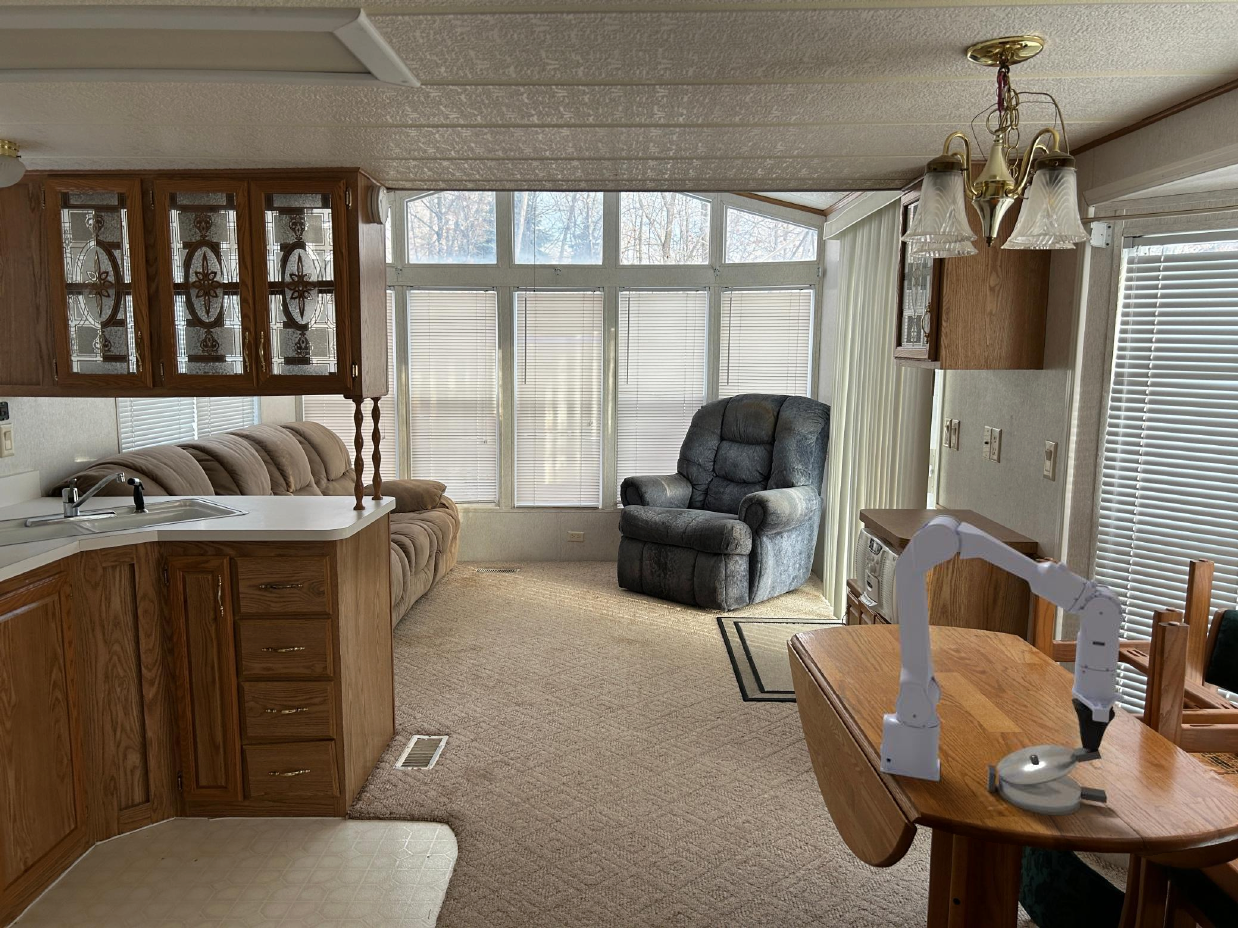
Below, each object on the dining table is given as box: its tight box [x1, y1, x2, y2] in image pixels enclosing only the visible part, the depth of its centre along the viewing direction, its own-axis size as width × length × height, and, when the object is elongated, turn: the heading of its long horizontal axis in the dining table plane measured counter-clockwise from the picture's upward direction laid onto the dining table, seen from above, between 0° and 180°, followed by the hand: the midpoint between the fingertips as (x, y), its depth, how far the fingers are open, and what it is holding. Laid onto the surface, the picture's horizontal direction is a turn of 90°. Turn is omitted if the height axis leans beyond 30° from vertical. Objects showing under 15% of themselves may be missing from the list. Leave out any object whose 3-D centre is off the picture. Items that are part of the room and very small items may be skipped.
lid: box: [996, 744, 1103, 785], centre depth 138 cm, size 16×12×2 cm
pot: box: [987, 764, 1108, 816], centre depth 138 cm, size 17×12×3 cm
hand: (1089, 747), depth 135 cm, fingers closed, pressing on lid
